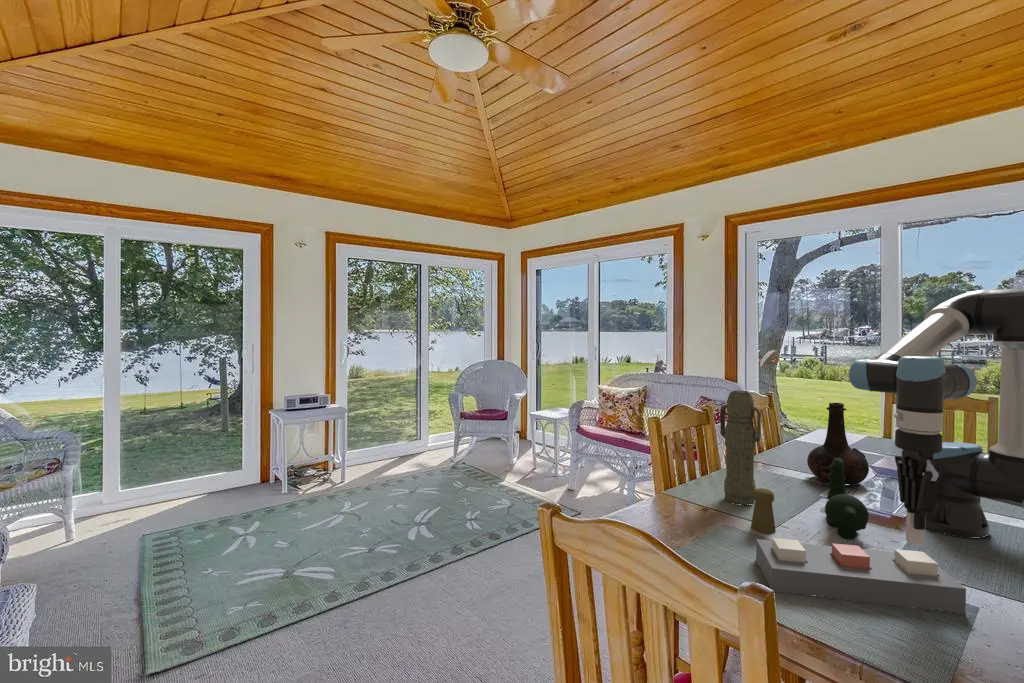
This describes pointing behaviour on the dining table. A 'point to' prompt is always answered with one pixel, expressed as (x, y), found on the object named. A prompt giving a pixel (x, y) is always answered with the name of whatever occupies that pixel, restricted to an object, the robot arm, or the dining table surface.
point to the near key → (915, 562)
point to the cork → (763, 511)
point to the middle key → (850, 556)
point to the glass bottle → (837, 451)
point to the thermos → (740, 446)
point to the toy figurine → (843, 505)
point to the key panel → (860, 580)
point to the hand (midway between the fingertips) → (915, 542)
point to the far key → (788, 550)
